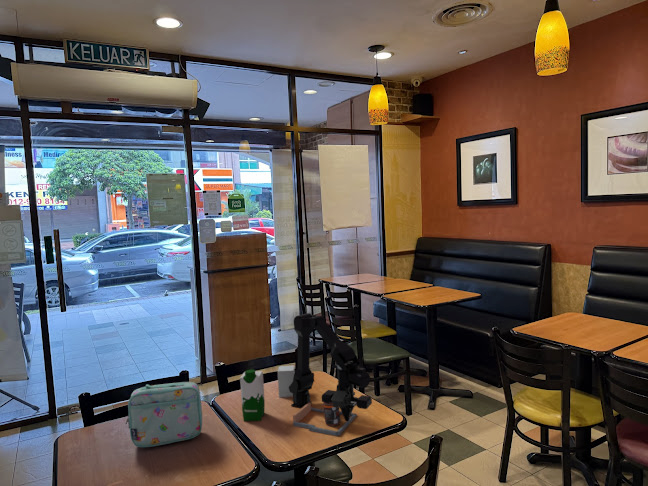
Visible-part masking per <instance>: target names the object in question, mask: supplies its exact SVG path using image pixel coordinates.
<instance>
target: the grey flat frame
mask: <svg viewBox="0 0 648 486" xmlns="http://www.w3.org/2000/svg"><path fill="white" fill-rule="evenodd" d="M310 412H317V413H322V414H324V408H322V409H321V408H316V407H312V402H311V403H307V404H306V405H305V406H304V407H302V408H300V409H299V410H298V411H296V412H295V413H294V414H293V415H292V425H293V427H298V428H304V429H308V431H310V432H313V433H318V434H324V435H329V436H334V437H340V436H341V434H342V433H343V432H344V431H345V430H346V429H347V427H348V426H349V425H350V424H351V423H352V422H353V421H354V419H356V417H357V416H358V414H357V413H354V412H352V413H351V416H350V419H349V421H345V422H344V423H343V424H342V425H341V427H340V428H339V429H338V430H332V429H327V428H321V427H317V426H316V425H315V424H310V423H305V422H301V421H302V419H304V418H305V417H306V416H307V415H308V414H309V413H310ZM339 413H340V415H342V416H343V413H342V411H341V410H339Z"/></svg>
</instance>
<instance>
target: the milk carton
mask: <svg viewBox="0 0 648 486" xmlns="http://www.w3.org/2000/svg"><path fill="white" fill-rule="evenodd" d="M239 382H240V394H241V395H240V396H241V397H240V398H241V411H242V419H243V421H244V422H260V421H262V419H263V416H265V415H264V414H265V402H266V401H265V388H264V387H265V385H264V373H263V370H255V369H252V368H251V369H247V370H245V371H244V372H243V373H242V375H241V376H240V377H239Z"/></svg>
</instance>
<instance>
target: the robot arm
mask: <svg viewBox="0 0 648 486" xmlns="http://www.w3.org/2000/svg"><path fill="white" fill-rule="evenodd" d="M293 329H294V332H296V334H297V368H296V370H295V373H294V377H293V382H292V383H291V385H290V386H289V391H290V392H291V393H293V397H292V401H293V403H292V404H291V407H293V408H300V409H301V408H302V407H304V406H305V405H306V404H307V403H311V404H312V401H311V394H310V390H312V388H313V385H314V382H315V373H314V372H312V370H311V368H310V352H311V351H310V350H311V349H310V348H311V346H310V345H311V344H310V343H311V342H310V341H311V339H310V338H311V335H312V333H313V330H316V331H317V333H318V334H319V336H320V337H321V339H322V340H323V341H324V342H325V344H326V345H327V346H328V348H329V349H330V352H331V357H332V358H333V360H334V362H335V364H334V365H333V368H335V369H337V385H336V388H335V389H336V390H332V389H327V390H325V392H324V393H322V394H321V402H322V403H323V402H326V403H329V402H330V401H331V400H332V404H333V407H339V410H340V411H342V413H343V415H342V416H343V418H344V420H345V422H347V421H349V419H350V417H351V413H353V411H354V410H353V409H354V408H355V407H357V408H358V409H363V410H366V409H368V408H369V407H370V406H371V405H372V404H373V399H372V397H371V396H370V395H363V394H361V395H360V396H359V397H357V396H355V395H356V392H355V390H354V389H355V388H354V386H356V387H359V388H362V389H365V388H367V387H368V386H369V384H370V382H371V375H370V373H369V372H367V369H366V368H364V367H360V366H361V365H362V364H361V363H360V360H359V358H358V356H357V354H356V352H355V350H354V349H353V348H352V347H351V345H349V344H348V342H347V343H346V342H345V341H342V340H341V339H340V338H339V336H338V335H337V334H336V333H335V332H334V330H333V329H332V328H331V327H330V326H329V324H328V323H327V322H326V319H325V317H324V316H323V315H318V314H312V313H310V312H307V313H304V314H299V315H296V316H295V317H294V318H293ZM332 396H333V397H332ZM331 397H332V398H331Z"/></svg>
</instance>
